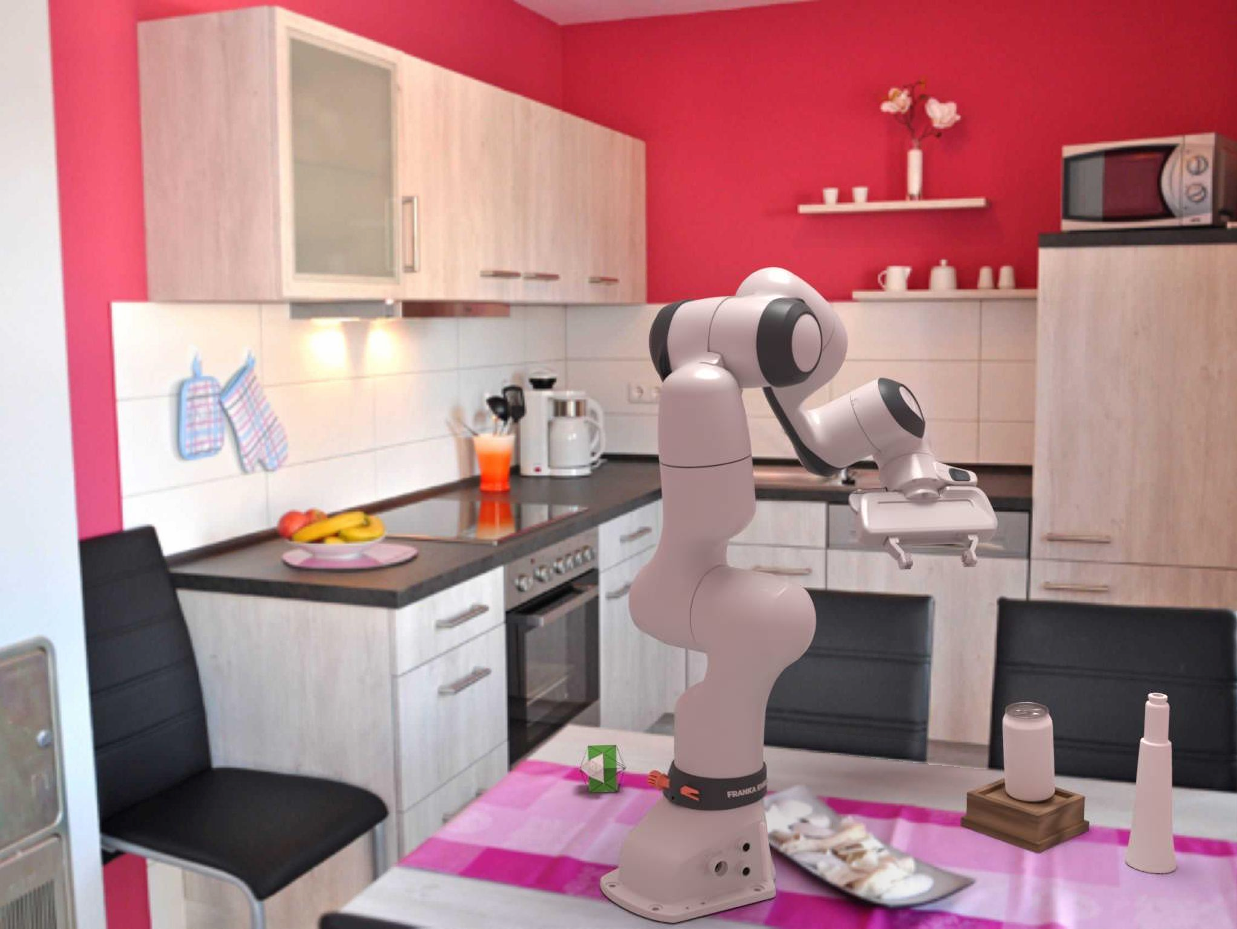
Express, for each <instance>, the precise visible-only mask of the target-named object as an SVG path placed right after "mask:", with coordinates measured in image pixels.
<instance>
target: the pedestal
mask: <svg viewBox="0 0 1237 929" xmlns="http://www.w3.org/2000/svg"><path fill="white" fill-rule="evenodd" d="M1085 800H1086V796H1085V795H1083V794H1079V793H1075V792H1072V791H1069V790H1066V789H1063V788H1060V787H1057V786H1055V793H1054V794H1053V795H1052V796H1051V797H1050V798H1049V799H1047V800H1045V801H1041V802H1023V801H1019V800H1016V799H1014V798H1012V797H1011V796H1009V794H1008V793H1007V792H1006V789H1005V777H1004V778H1001V779H999V780H995V781H994V782H993V781H992V782H991V783H987V784H985V785H983V786H980V787H978V788H975V789H972V790H970V791H967V792H966V810H965V812H966V814H964V815H963V816H961V817H960V827H964V828H966V829H969V830H973V831H974V832H975V831H976V832H978V833H980V834H984V835H986V836H989V837H991V836H992V837H991V838H993V839H994V838H995V839H998V840H1001V841H1003V842H1005V843H1009V844H1011V845H1014V846H1017V847H1020V848H1023V849H1025V850H1028V851H1030V852H1034V853H1036V854H1039V853H1042V852H1043V851H1046V850H1048V849H1050V848H1052V847H1055V846H1057V845H1059V844H1061V843H1063V842H1066V841H1068V840H1070V839H1072V838H1074V837H1076V836H1079V835H1081V834H1083V833H1086V832H1088V831H1090V821H1089V820H1086V819H1085V806H1086V801H1085Z"/></svg>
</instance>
